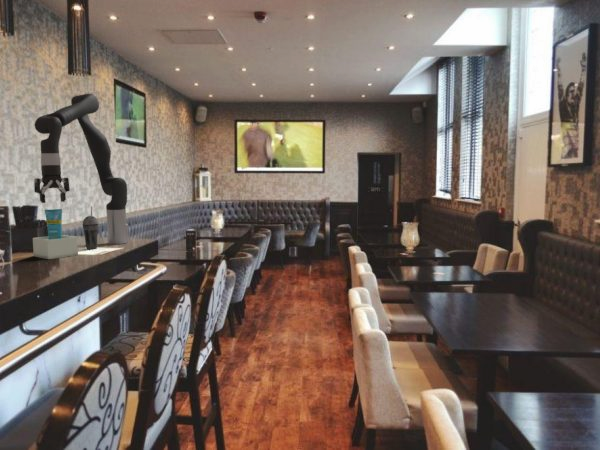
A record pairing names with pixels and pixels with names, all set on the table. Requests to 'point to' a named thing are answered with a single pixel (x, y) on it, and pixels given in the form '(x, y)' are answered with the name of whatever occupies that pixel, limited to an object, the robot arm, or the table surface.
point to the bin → (55, 247)
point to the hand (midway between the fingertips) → (53, 202)
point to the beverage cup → (90, 231)
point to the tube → (54, 223)
